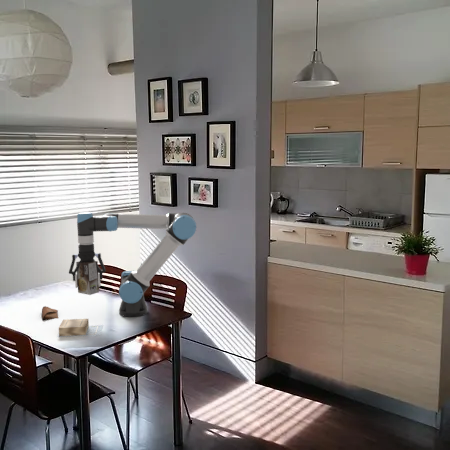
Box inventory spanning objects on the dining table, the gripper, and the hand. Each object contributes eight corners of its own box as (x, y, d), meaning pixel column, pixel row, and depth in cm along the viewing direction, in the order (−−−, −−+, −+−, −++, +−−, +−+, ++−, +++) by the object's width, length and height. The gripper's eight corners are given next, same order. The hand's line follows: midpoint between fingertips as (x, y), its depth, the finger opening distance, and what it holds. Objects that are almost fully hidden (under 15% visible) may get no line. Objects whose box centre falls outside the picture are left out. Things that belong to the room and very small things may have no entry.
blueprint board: (103, 327, 250) (103, 324, 250) (100, 336, 236) (100, 334, 236) (61, 328, 247) (61, 326, 247) (56, 339, 233) (56, 336, 233)
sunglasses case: (60, 320, 260) (52, 310, 258) (48, 328, 258) (40, 318, 256) (58, 310, 276) (51, 300, 274) (46, 317, 275) (39, 308, 273)
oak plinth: (88, 326, 248) (88, 318, 247) (85, 334, 236) (85, 326, 235) (63, 327, 246) (63, 319, 245) (59, 336, 234) (58, 327, 234)
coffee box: (99, 292, 255) (98, 261, 252) (90, 295, 249) (88, 263, 247) (87, 289, 259) (85, 259, 257) (77, 292, 254) (75, 261, 252)
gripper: (110, 241, 256) (112, 283, 259) (63, 243, 253) (65, 285, 256) (109, 244, 249) (110, 287, 252) (60, 245, 245) (63, 289, 249)
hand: (88, 286), depth 254 cm, fingers closed on coffee box, 10 cm apart
